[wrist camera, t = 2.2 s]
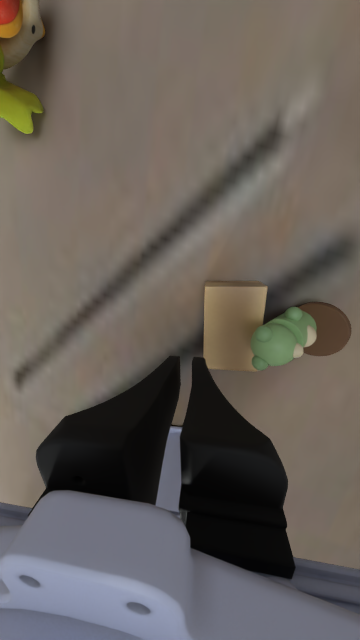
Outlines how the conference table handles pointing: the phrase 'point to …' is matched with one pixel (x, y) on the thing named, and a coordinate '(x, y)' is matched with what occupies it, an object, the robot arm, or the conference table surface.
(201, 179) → the conference table surface
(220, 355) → the beech block
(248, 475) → the robot arm
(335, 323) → the green figurine on base
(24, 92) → the bird rattle
